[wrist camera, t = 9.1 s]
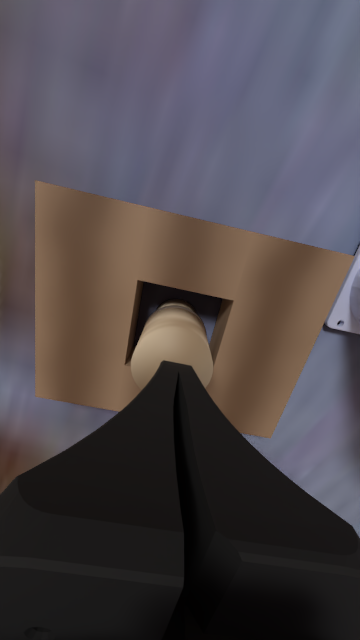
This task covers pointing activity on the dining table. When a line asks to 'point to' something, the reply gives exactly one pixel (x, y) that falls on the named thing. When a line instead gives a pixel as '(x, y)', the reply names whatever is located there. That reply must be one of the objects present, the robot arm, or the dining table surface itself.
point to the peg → (172, 343)
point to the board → (178, 272)
